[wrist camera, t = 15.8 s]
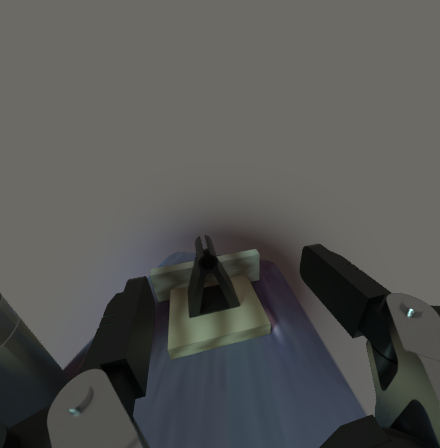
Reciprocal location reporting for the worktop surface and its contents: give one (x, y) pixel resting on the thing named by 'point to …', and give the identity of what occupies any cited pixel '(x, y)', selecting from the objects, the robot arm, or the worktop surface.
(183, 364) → the worktop surface
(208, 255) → the phone stand
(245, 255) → the wall board
